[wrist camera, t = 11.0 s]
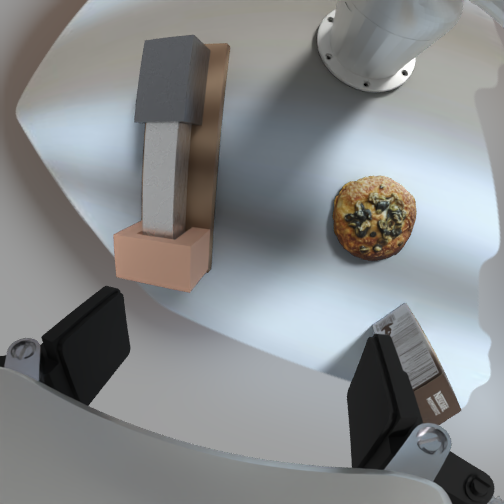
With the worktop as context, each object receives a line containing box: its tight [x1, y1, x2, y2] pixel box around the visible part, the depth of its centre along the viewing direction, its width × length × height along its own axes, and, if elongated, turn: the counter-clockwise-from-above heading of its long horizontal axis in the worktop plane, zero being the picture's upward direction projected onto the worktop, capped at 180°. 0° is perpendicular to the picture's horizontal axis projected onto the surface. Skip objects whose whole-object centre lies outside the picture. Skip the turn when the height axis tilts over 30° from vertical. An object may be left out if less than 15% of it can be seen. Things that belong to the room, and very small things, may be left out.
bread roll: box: [333, 176, 416, 261], centre depth 34 cm, size 11×11×5 cm
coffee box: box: [372, 303, 461, 425], centre depth 32 cm, size 9×6×16 cm
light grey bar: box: [143, 122, 192, 240], centre depth 34 cm, size 18×4×4 cm, turn 174°
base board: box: [142, 43, 230, 273], centre depth 36 cm, size 30×10×2 cm, turn 174°
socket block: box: [113, 221, 210, 293], centre depth 36 cm, size 6×10×7 cm, turn 84°
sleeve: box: [134, 35, 211, 125], centre depth 30 cm, size 10×6×6 cm, turn 174°
